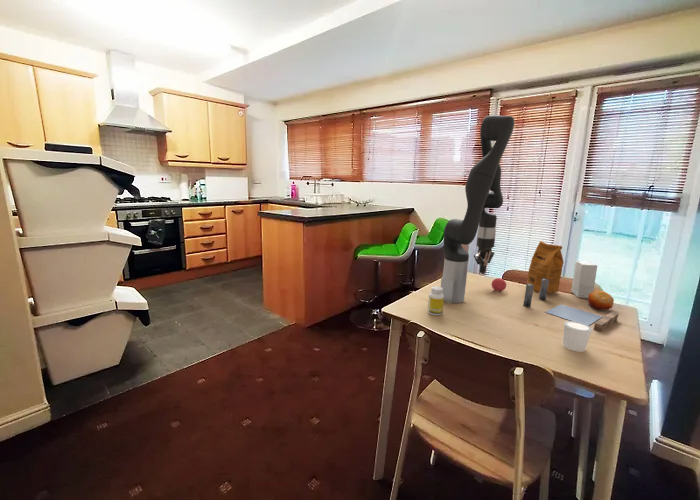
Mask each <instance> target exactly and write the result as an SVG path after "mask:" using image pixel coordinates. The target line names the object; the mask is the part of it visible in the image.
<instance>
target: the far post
mask: <svg viewBox="0 0 700 500" xmlns="http://www.w3.org/2000/svg"><path fill="white" fill-rule="evenodd" d="M548 285H549V279H546V278H542V282H541V288H540V293H539V295H538V300H539V301H542V302H543V301H545V302H546V300H547V295H548V294H547V291H548Z"/></svg>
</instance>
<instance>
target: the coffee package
mask: <svg viewBox="0 0 700 500" xmlns="http://www.w3.org/2000/svg"><path fill="white" fill-rule="evenodd" d="M562 250H563V246H561V245H555V244H548V243H546V242H544V241H542V240H540V241H539V243H538V245H537V246H536V249H535V251H534V253H533V255H532V257H531V259H530V265H529V268H528V272H527V282H526V284H533V285H534V289H533V292H536V293H539V294H540V288H541V282H542V278H546V279H549V285H548V291H547V295H549V294H551V293H557V292H559V287H560V281H561V277H562V272H563V267H564V258H563V254H562Z"/></svg>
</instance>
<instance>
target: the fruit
mask: <svg viewBox="0 0 700 500" xmlns="http://www.w3.org/2000/svg"><path fill="white" fill-rule="evenodd" d="M587 300H588V306H590V307H591V308H594V310H597V311H599V310H600V311H604V310H610V309H612V308H613V306H614V301H615V300H614V297H613V296H612V295H611V294H610V293H608V292H606V291H604V290H594V291H593V292H592V293H590V294H589V296H588V298H587Z"/></svg>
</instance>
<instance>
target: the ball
mask: <svg viewBox="0 0 700 500" xmlns="http://www.w3.org/2000/svg"><path fill="white" fill-rule="evenodd" d="M491 288H492V290H493V291H495V292H504V291H505V290H506V288H507V282H506V281H505V280H504V279H503V278H501V277H497V278H494V279H493V280H492V281H491Z"/></svg>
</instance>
